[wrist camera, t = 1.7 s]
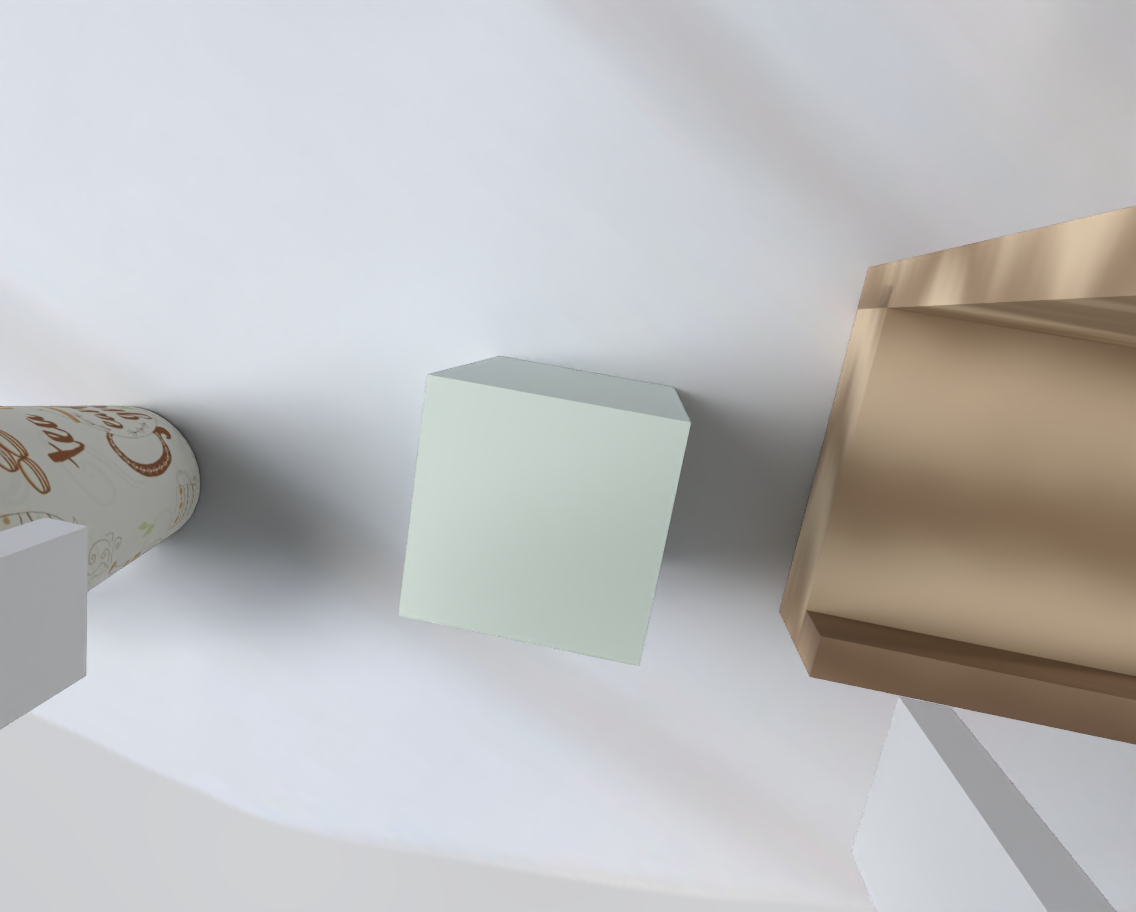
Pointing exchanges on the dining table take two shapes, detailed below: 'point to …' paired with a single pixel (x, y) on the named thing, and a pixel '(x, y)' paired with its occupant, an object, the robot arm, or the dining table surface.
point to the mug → (97, 477)
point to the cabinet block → (543, 504)
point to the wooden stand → (984, 484)
